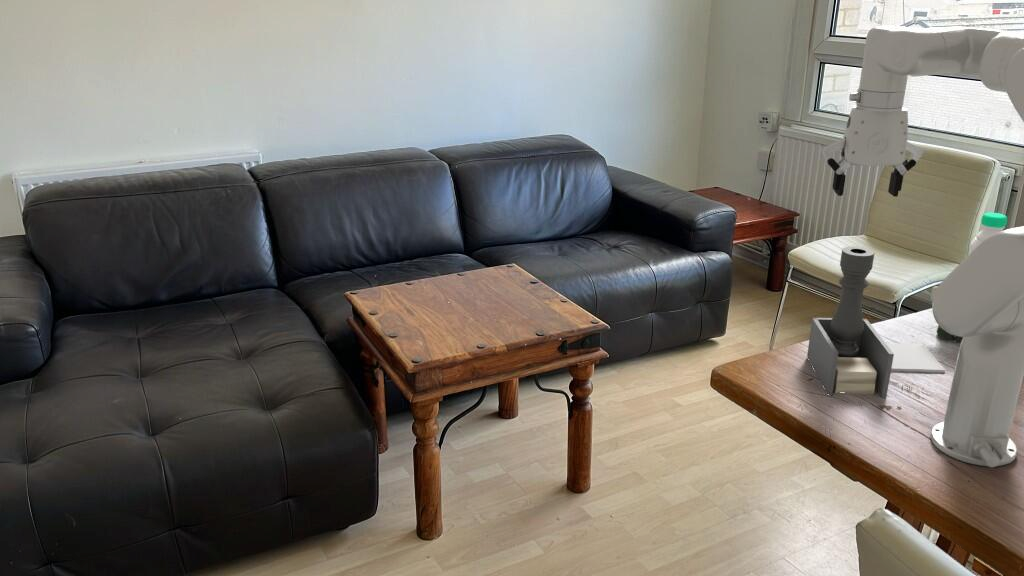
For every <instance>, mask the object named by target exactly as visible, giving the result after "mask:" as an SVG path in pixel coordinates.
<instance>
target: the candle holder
mask: <svg viewBox="0 0 1024 576" xmlns="http://www.w3.org/2000/svg"><path fill="white" fill-rule="evenodd" d="M840 255H841V256H840V261H839V267H840V270H841V272H842V275H843V276H841V277H840V278H839V279H838V283H839V285H840V286H841V291H840V299H839V302H838V304H837V307H836V309H835V311H834V314H833V316H832V317H831V318H832V320H831V323H830V329H831V332H832V334H833V335H834V336H833V339H834V340H833V341H832V343H833V345H834V346H835V348H836V349H837V351H838V357H850V358H859V355H858V352H859V349H858V346H857V345H856V342H857V339H858V338H859V337H860V336H861V334H862V333H863V331H864V324H863V319H864V317H863V308H862V307H863V305H862V301H863V294H864V290H865V289H866V288H868V286H869V281H868V280H867V279H866V278H867V277H868V276H869V274H870V273H871V270H872V269H873V265H874V264H873V263H874V259H875V252H874V250H872V249H871V248H867V247H862V246H846V247H843V248H842V249H841V254H840Z"/></svg>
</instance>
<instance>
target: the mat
mask: <svg viewBox="0 0 1024 576" xmlns="http://www.w3.org/2000/svg"><path fill="white" fill-rule="evenodd" d="M885 343H886V345H887V346H888V347H889V348H890V350H891V351H892V352H893V354H894V357H893V362H892V368H891V372H906V373H908V372H910V373H911V372H912V373H913V372H914V373H941V374H942V373H944V374H945V373H946V369H945V368H944V366H943V365H942V364H941V363H940V362H939V361H938V360H937V359H936V357H935V356H934V355H933V354H932V353H931V352H930V350H929V349H928V348H927V347H926V346H925V345H924V344H923V343H906V342H905V343H903V342H885Z"/></svg>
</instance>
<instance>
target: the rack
mask: <svg viewBox="0 0 1024 576" xmlns="http://www.w3.org/2000/svg"><path fill="white" fill-rule="evenodd" d="M832 318H833V317H812V319H811V324H810V325H811V326H810V332H809V341H808V348H807V356H806V358H807V357H808V359H809V360H808V359H807V360H808V362H809V361H810V362H811V364H812V366H813V368H814V370H815V371H814V370H813V371H814V373H815V372H816V373H815V375H816V374H817V375H818V377H819V379H820V381H821V382H820V381H819V382H820V384H821V383H822V384H821V386H822V385H823V386H824V388H825V390H826V391H825V390H824V391H825V393H826V392H827V393H826V395H827V394H829V395H832V396H833V391H834V390H833V387H834V380H835V373H836V366H837V360H838V351H837V349H836V348H835V346H834V345H833V343H832V341H833V340H834V339H833V336H834V335H833V334H832V332H831V329H830V323H831V320H832ZM863 324H864V331H863V333H862V334H861V336H860V337H859V338H858V339H857V342H856V345H857V346H858V349H859V352H858V355H859V358H867V359H868V361H869V362H870V363H871V365H872V366H873V368H874V369H875V370H876V372H877V374H876V380H875V389H876V391H877V392H878V394H879V395H880V396H881V398H887V396H888V390H889V384H890V379H891V372H892V371H891V368H892V362H893V357H894V354H893V352H892V351H891V350H890V348H889V347H888V346H887V345H886V343H887V342H885V341H884V340H883V338H882V337H881V336H880V334H879V333H878V331H876V329H875V327H874V326H873V325H872V324H871V323H870V321H869V320H868V319H867V318H863ZM810 362H809V363H810ZM811 364H810V365H811ZM812 366H811V367H812ZM813 368H812V369H813ZM817 375H816V376H817ZM818 377H817V378H818ZM819 379H818V380H819ZM823 386H822V387H823ZM824 388H823V389H824Z"/></svg>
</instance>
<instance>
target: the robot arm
mask: <svg viewBox="0 0 1024 576" xmlns="http://www.w3.org/2000/svg"><path fill="white" fill-rule="evenodd" d="M862 58H863V59H862V65H861V70H860V71H861V72H860V78H859V86H858V88H857V90H856V91H855V92H851V93H850V94H849V95H848V97H849V99H848V100H849V101H850V102H853V103H854V102H855V104H856V105H853V106H852V108H851V110H850V113H849V116H848V119H847V122H846V125H845V129H844V133H843V137H842V139H839V140H838V141H836V142H833V143H831V144H828V145H827V146H824V147H823V148H821V152H822V154H823V157H824V160H825V163H826V164H827V165H828V166H829V167H830V168H831V169H832V171H833V173H834V174H833V179H832V190H833V191H834V193H835V194H836V195H837V196H838V197H842V196H844V192H845V191H844V190H845V184H846V179H847V178H846V177H847V176H846V174H845V171H846V170H847V169H849V167H851V166H858V167H860V166H861V167H892V168H893V171H892V172H890V179H889V184H888V190H887V191H888V194H890V195H891V196H893V197H895V198H897V197H898V195H899V192H901V191H902V186H903V182H904V181H903V180H904V176H905V175H907V173H908V172H909V171H910V170H912V169H913V167H915V166H916V164H917V162H918V161H919V159H920V158H922V156H923V154H924V150H923V149H922V148H920V147H918V146H916V145H915V144H912V143H911V142H909V141H908V135H909V134H908V131H909V113H908V108H905V107H903V106H904V101H905V95H906V89H907V83H908V77H909V78H911V77H925V76H926V77H927V76H937V75H950V74H951V75H953V74H954V75H964V76H965V75H966V76H971V77H979V78H980V81H981V82H982V85H983V86H984V87H986V88H987V89H989V90H991V91H994V92H1000V93H1001V92H1003V93H1006V94H1007V97H1008V99H1009V100H1010V102H1011V103H1012V105H1013V107H1014V109H1015V110H1016V112H1017V114H1018V115H1019V117H1020V119H1021V120H1022V122H1023V123H1024V32H1017V31H1009V30H998V29H988V28H976V27H965V26H963V27H962V26H946V27H945V26H943V27H942V26H941V27H940V26H939V27H927V28H926V27H925V28H924V27H923V28H912V29H911V28H909V27H907V26H899V25H898V26H897V25H896V26H895V25H881V26H880V25H878V26H875V27H871V28H870V29H869V30H868V32H867V35H866V38H865V45H864V51H863V57H862ZM837 151H840V157H841V158H840V159H839V160H838V161H836V160H835V158H834V156H833V154H834V153H835V152H837ZM907 151H908V152H910V155H909V157H908V158H907V159H906V154H907ZM969 253H970V252H969ZM969 253H968V254H967V256H966V257H965V258H964V259H963V260H962V261H961V262H960V263H959V264H958V265H957V266H956V267H955V268H954V269H953V270H952V271H950V273H949V274H948V275H947V276H946V277H945V278H944V279H943V280H942V281H941V282H940V284H939V285H937V286H938V288H937V290H936V292H935V294H934V297H933V300H931V302H932V304H931V306H932V308H931V311H932V315H933V317H934V320H935V322H936V324H937V325H939V326H940V327H941V328H942V329H943V330H945V331H946V332H948V333H950V334H952V335H955V336H960V337H963V339H962V341H960V345H959V350H958V354H957V359H956V362H955V368H954V371H953V376H952V381H951V388H950V391H949V396H948V401H947V404H946V405H947V406H946V411H945V415H944V420H943V422H940V423H937V424H935V425H934V426H933V427H932V429H931V432H930V440H931V442H932V444H933V445H934V446H935V447H936V448H937V449H938V450H939V451H941V452H943V453H944V454H945V455H948V456H949V457H951V458H953V459H956V460H957V461H958V460H959V461H961V462H965V463H968V464H971V465H977V466H983V467H989V468H995V467H1001V466H1004V465H1008V464H1011V463H1012V462H1013V461H1014V460H1016V457H1017V454H1018V453H1017V452H1018V448H1017V446H1016V444H1015V443H1014V441H1013V440H1012V439H1011V438H1010V433H1011V430H1012V427H1013V421H1014V417H1015V413H1016V408H1017V404H1018V400H1019V396H1020V392H1021V389H1022V386H1023V381H1024V225H1022V226H1017V227H1012V228H1011V227H1010V228H1008V229H1003V230H1002V231H1000V232H998V233H996V234H994V235H992V236H990V237H989V238H987V239H986V240H984V241H983V242H982V243H981V244H979V245H978V246H977V247H976V248H975V249H974V250H973V251H972V252H971V253H970V254H969Z"/></svg>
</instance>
